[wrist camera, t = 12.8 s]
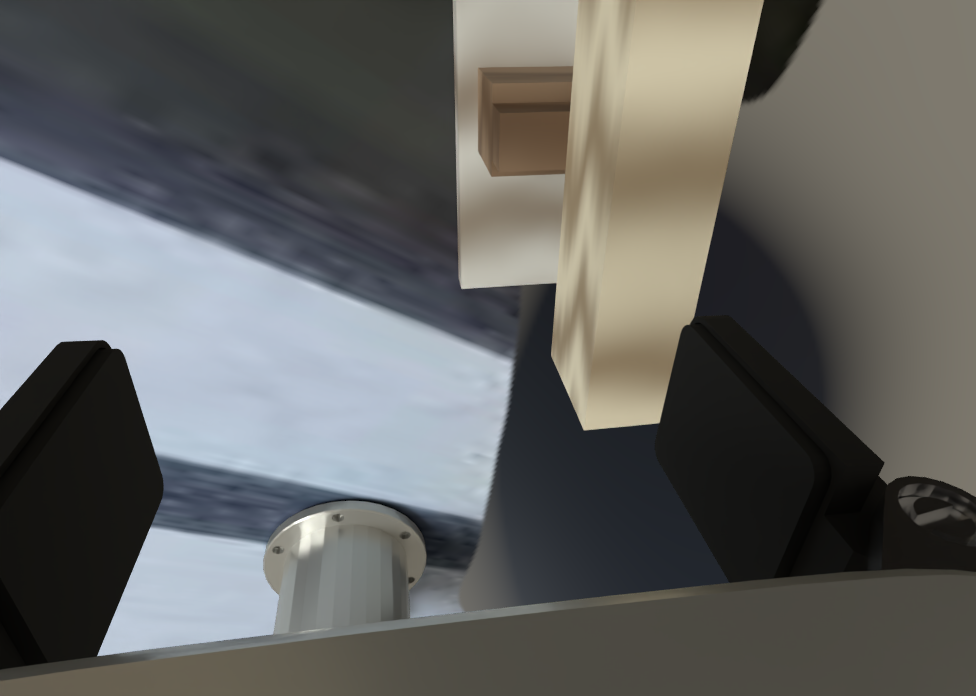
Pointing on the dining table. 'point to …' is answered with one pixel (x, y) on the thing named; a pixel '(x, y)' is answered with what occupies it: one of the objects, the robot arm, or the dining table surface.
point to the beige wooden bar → (642, 192)
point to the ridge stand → (511, 136)
